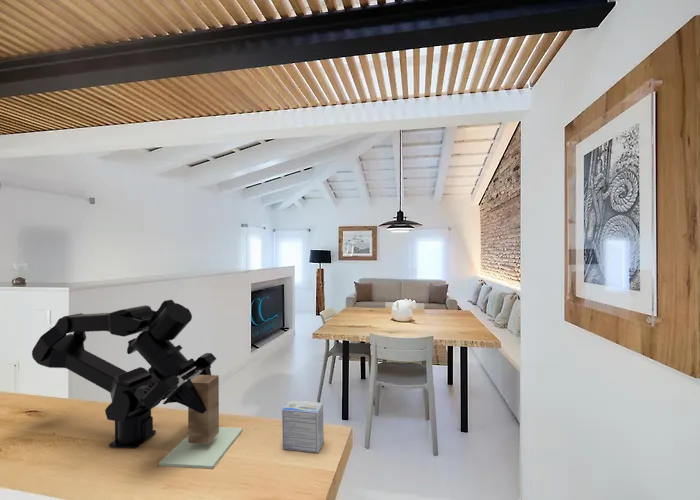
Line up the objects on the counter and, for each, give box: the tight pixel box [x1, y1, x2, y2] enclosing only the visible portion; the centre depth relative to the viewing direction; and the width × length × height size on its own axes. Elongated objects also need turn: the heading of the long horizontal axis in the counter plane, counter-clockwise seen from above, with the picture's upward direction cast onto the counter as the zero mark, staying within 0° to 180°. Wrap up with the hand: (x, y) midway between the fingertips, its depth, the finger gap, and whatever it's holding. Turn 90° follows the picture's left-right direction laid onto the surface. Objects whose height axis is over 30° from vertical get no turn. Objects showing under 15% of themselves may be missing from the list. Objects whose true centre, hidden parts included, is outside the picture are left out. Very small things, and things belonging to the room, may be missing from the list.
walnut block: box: [187, 374, 220, 444], centre depth 73 cm, size 4×4×12 cm
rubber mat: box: [158, 426, 244, 470], centre depth 73 cm, size 11×14×1 cm
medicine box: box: [281, 399, 325, 454], centre depth 73 cm, size 8×4×9 cm, turn 79°
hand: (210, 406), depth 73 cm, fingers closed on walnut block, 4 cm apart
